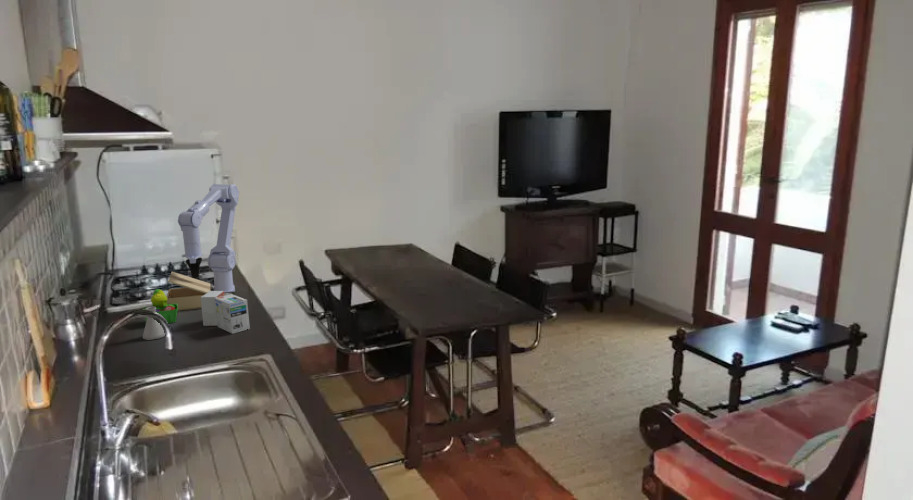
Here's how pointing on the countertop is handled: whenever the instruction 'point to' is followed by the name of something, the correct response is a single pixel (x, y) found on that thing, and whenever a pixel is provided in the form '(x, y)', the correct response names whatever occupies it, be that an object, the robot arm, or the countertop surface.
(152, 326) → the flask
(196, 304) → the cardboard box
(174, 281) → the cardboard lid
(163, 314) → the fruit basket
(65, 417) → the countertop surface
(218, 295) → the small box
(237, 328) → the light bulb box
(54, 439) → the countertop surface
